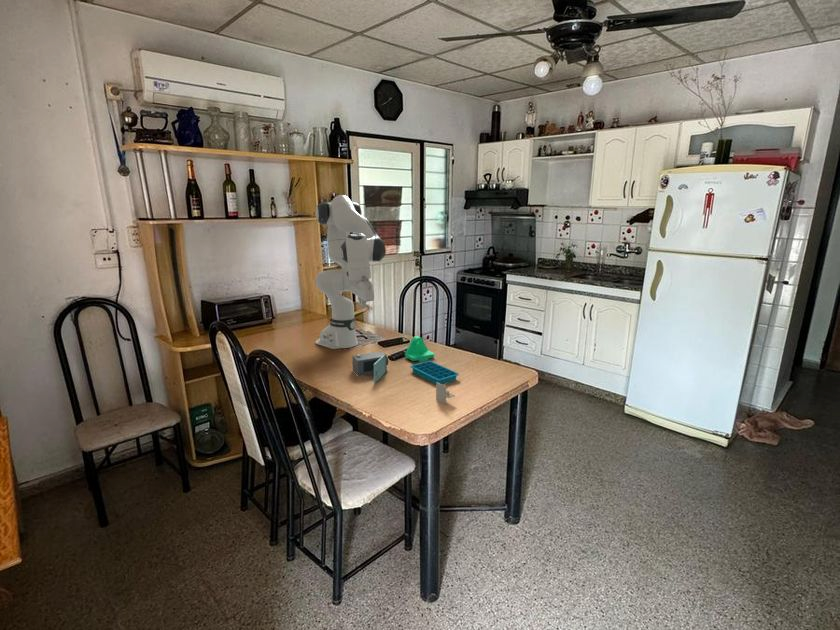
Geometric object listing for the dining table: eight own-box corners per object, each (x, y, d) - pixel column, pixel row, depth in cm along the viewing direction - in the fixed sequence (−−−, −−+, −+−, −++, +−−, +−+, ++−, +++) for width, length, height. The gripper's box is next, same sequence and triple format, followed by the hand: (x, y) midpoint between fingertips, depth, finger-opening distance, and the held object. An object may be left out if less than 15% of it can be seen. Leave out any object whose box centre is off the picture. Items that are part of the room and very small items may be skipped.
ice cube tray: (430, 366, 197) (430, 360, 196) (460, 380, 181) (460, 374, 181) (409, 372, 190) (409, 365, 190) (438, 387, 175) (438, 380, 174)
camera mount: (413, 363, 201) (413, 342, 198) (405, 358, 207) (405, 337, 205) (435, 359, 207) (435, 338, 204) (426, 354, 213) (426, 334, 211)
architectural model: (442, 398, 165) (443, 379, 163) (454, 404, 160) (455, 385, 158) (435, 400, 163) (436, 382, 161) (447, 407, 158) (448, 388, 156)
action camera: (384, 365, 197) (383, 349, 195) (390, 370, 191) (390, 354, 189) (352, 370, 191) (352, 354, 189) (358, 376, 184) (357, 359, 183)
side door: (384, 371, 190) (384, 353, 188) (387, 372, 189) (387, 354, 187) (373, 383, 177) (373, 364, 175) (376, 383, 177) (376, 364, 175)
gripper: (376, 277, 169) (379, 311, 174) (358, 269, 187) (361, 300, 191) (361, 280, 167) (364, 314, 171) (344, 271, 184) (348, 302, 188)
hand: (363, 306), depth 181 cm, fingers closed
